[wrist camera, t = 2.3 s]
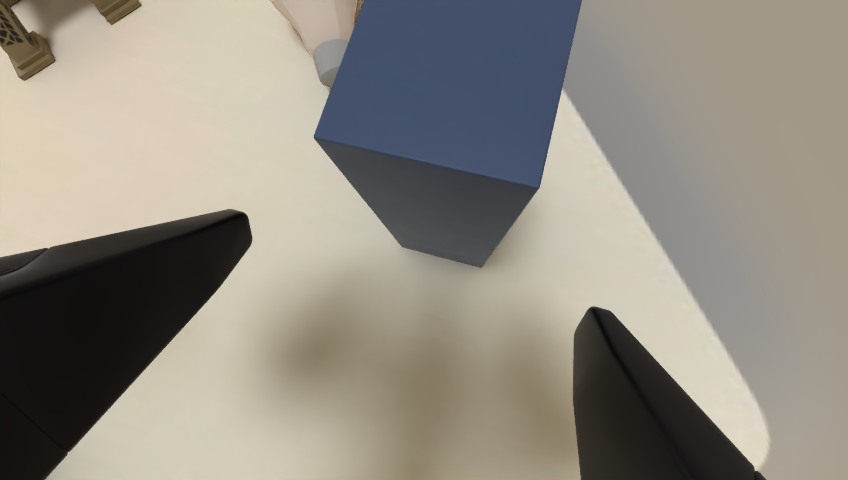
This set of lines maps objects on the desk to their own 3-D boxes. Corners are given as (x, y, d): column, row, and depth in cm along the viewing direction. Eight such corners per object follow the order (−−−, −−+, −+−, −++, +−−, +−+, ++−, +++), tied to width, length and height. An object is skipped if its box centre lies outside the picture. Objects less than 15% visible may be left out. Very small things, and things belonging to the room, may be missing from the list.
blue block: (481, 267, 19) (539, 189, 6) (401, 246, 20) (312, 137, 7) (501, 190, 20) (585, -14, 7) (423, 172, 21) (378, -42, 8)
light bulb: (371, 44, 17) (311, -169, 17) (268, 88, 19) (209, -106, 18) (403, 86, 24) (361, -66, 23) (325, 117, 25) (283, -26, 25)
